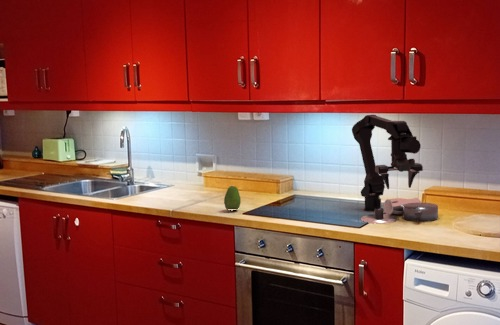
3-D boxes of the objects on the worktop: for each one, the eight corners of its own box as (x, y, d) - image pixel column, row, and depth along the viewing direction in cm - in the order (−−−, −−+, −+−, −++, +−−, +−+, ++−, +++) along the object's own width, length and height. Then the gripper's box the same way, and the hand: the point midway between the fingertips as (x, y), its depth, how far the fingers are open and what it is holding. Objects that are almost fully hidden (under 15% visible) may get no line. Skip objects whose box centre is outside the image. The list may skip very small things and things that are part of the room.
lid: (357, 225, 242) (357, 212, 241) (364, 216, 256) (363, 204, 255) (395, 226, 237) (395, 213, 236) (399, 217, 250) (399, 205, 250)
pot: (399, 223, 237) (399, 211, 236) (405, 213, 254) (404, 202, 253) (436, 224, 232) (436, 212, 231) (439, 214, 249) (439, 202, 248)
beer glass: (421, 214, 254) (392, 217, 248) (410, 210, 260) (382, 212, 254) (422, 198, 253) (394, 200, 247) (412, 195, 259) (384, 197, 253)
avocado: (243, 211, 275) (242, 186, 273) (227, 213, 272) (225, 188, 271) (238, 208, 282) (237, 183, 281) (222, 210, 280) (221, 185, 279)
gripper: (382, 155, 237) (383, 193, 239) (427, 152, 238) (428, 190, 241) (374, 151, 248) (374, 188, 250) (417, 149, 250) (417, 185, 252)
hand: (398, 188), depth 248 cm, fingers open, 9 cm apart
